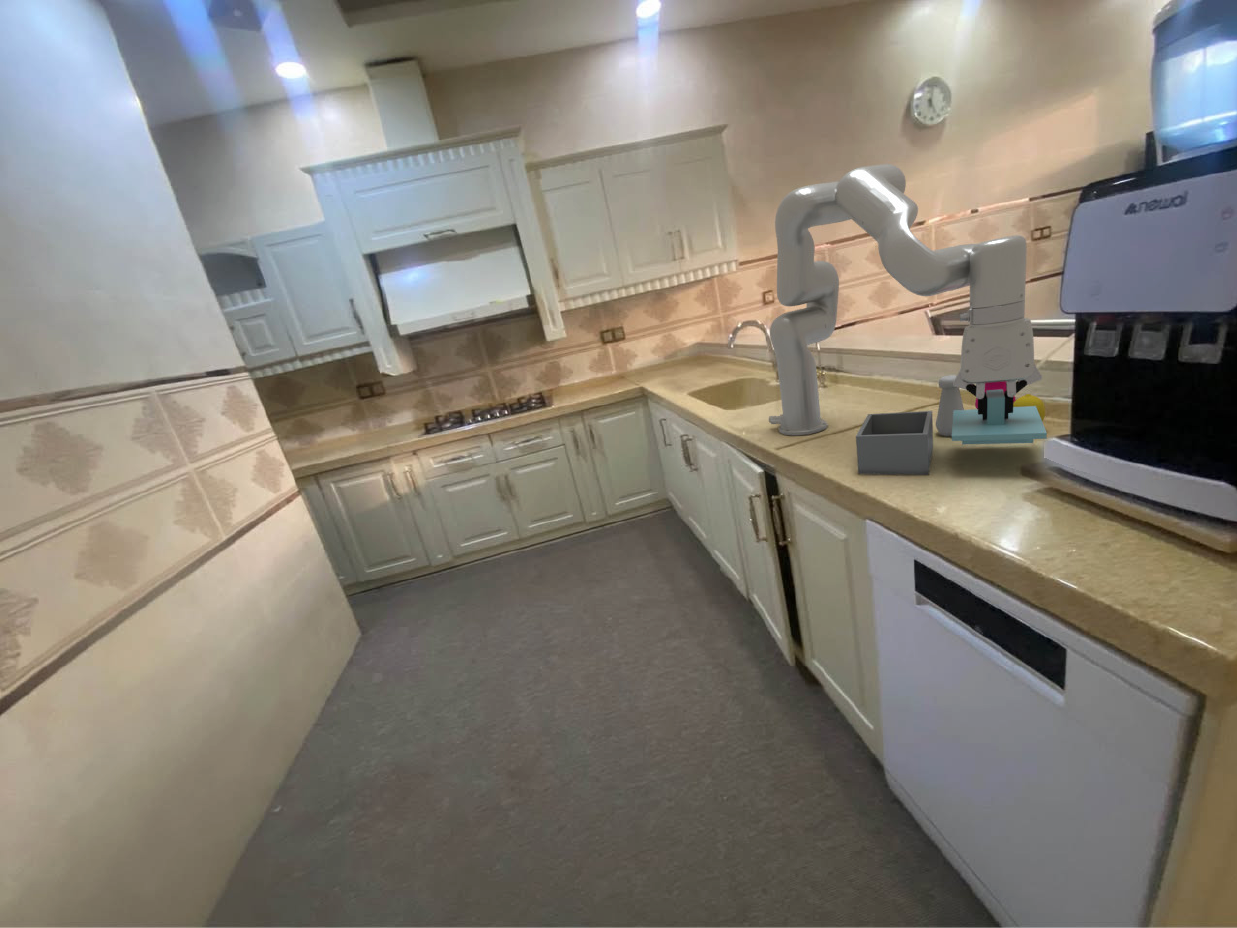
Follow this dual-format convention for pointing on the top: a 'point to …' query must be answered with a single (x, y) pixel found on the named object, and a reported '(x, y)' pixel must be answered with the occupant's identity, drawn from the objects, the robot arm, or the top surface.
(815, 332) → the robot arm
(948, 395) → the salt shaker
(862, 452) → the tub
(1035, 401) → the lemon
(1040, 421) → the lid
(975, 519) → the top surface
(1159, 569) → the top surface
